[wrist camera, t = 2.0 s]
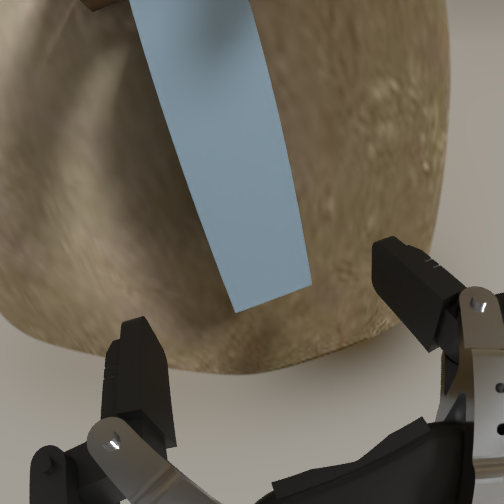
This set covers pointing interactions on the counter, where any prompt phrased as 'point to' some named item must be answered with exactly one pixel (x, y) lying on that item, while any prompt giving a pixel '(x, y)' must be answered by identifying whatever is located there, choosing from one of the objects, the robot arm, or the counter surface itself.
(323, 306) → the counter surface
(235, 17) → the rail
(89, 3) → the wooden stool base
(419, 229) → the counter surface
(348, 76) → the counter surface
